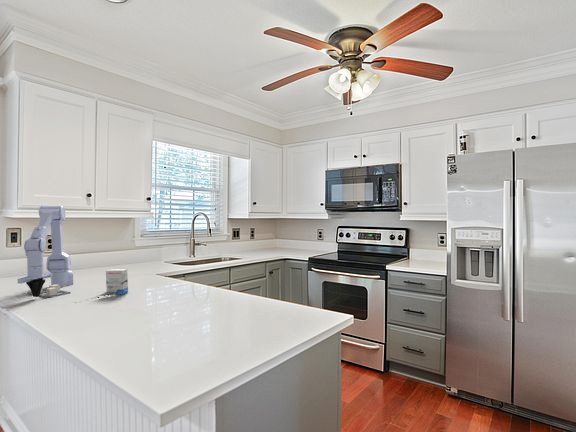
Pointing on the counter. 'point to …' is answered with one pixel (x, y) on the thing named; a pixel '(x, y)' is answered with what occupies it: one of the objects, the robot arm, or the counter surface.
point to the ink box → (117, 281)
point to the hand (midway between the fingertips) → (36, 296)
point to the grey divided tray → (52, 295)
